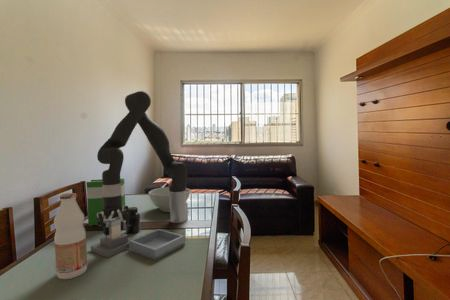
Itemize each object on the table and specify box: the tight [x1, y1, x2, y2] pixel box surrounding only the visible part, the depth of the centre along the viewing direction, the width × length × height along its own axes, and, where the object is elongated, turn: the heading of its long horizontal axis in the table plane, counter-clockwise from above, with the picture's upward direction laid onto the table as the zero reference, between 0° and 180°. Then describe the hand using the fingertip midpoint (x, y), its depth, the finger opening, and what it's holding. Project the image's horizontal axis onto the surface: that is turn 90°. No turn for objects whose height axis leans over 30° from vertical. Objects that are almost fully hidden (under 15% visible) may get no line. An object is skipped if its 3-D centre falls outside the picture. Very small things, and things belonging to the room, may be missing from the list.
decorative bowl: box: [148, 186, 191, 213], centre depth 166 cm, size 27×27×12 cm
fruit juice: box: [53, 192, 88, 280], centre depth 89 cm, size 9×9×28 cm
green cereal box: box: [85, 178, 126, 227], centre depth 141 cm, size 18×7×24 cm, turn 98°
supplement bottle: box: [125, 206, 141, 235], centre depth 128 cm, size 7×7×12 cm
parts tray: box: [128, 228, 186, 261], centre depth 109 cm, size 16×16×4 cm
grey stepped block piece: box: [90, 232, 133, 258], centre depth 109 cm, size 14×12×5 cm
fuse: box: [107, 218, 122, 240], centre depth 109 cm, size 4×4×10 cm
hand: (113, 232), depth 109 cm, fingers open, 5 cm apart
